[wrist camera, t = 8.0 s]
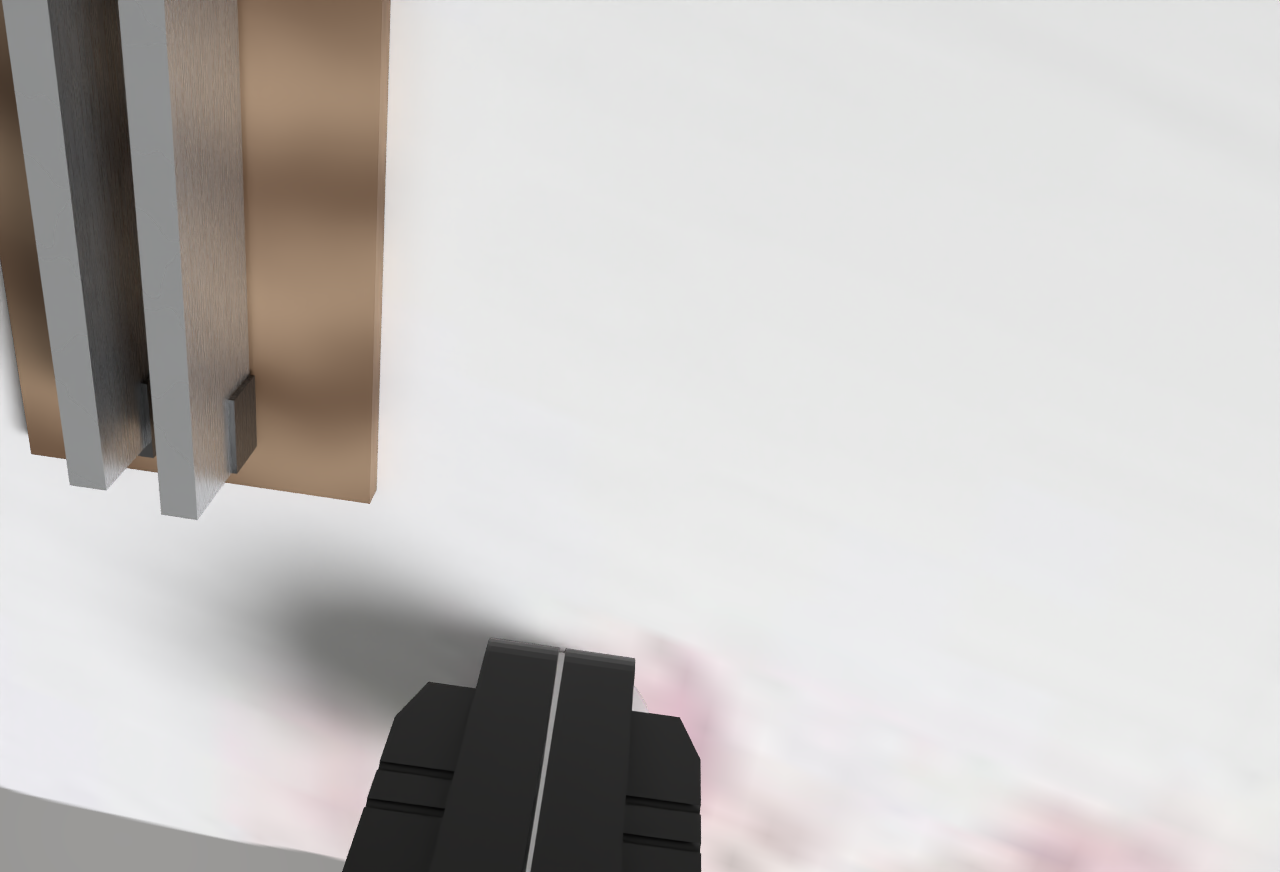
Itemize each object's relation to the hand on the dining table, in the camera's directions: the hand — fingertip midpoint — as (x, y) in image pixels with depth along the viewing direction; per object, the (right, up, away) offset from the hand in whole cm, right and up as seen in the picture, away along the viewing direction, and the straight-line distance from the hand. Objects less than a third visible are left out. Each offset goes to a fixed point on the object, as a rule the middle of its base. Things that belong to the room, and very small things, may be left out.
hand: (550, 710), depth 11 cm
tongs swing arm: (-13, +11, +24) cm, 29 cm away
